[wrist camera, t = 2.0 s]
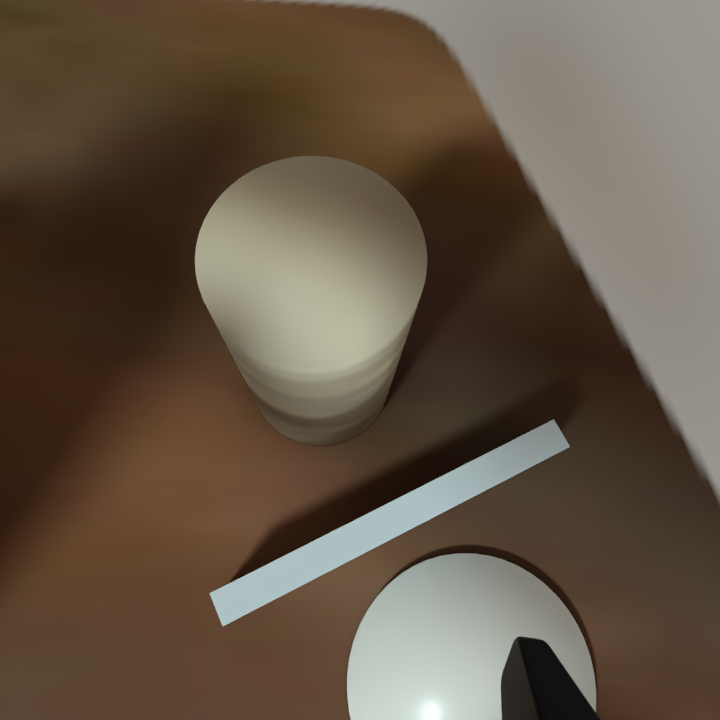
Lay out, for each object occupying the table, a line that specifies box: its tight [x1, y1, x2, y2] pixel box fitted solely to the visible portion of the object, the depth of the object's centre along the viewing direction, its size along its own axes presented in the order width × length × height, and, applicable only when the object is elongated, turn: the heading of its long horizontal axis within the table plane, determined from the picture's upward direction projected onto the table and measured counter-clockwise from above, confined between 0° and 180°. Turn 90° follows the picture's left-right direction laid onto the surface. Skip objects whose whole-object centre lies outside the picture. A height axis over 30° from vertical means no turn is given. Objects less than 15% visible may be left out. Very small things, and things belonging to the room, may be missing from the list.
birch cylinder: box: [195, 156, 427, 446], centre depth 18 cm, size 5×5×10 cm
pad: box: [347, 553, 596, 720], centre depth 20 cm, size 8×8×1 cm
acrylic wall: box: [210, 419, 570, 626], centre depth 20 cm, size 12×1×2 cm, turn 116°
